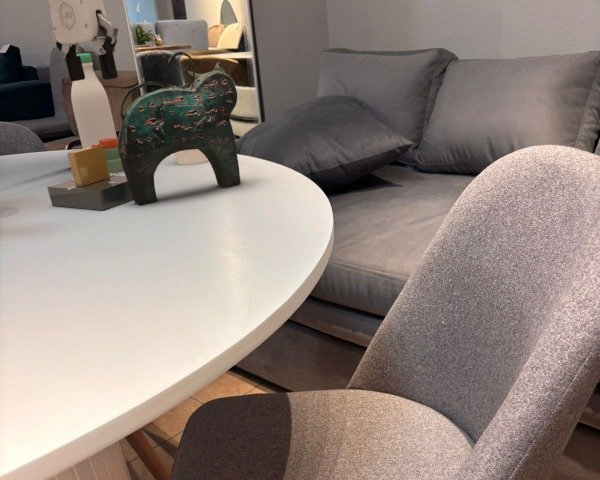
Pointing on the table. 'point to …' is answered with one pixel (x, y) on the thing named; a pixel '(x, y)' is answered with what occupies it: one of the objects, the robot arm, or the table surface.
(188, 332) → the table surface
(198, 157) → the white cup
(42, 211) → the table surface
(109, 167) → the dispenser
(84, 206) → the base
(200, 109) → the ceramic cat
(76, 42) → the robot arm
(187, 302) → the table surface
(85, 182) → the yellow rectangular block
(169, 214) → the table surface
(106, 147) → the dispenser button
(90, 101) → the milk bottle
